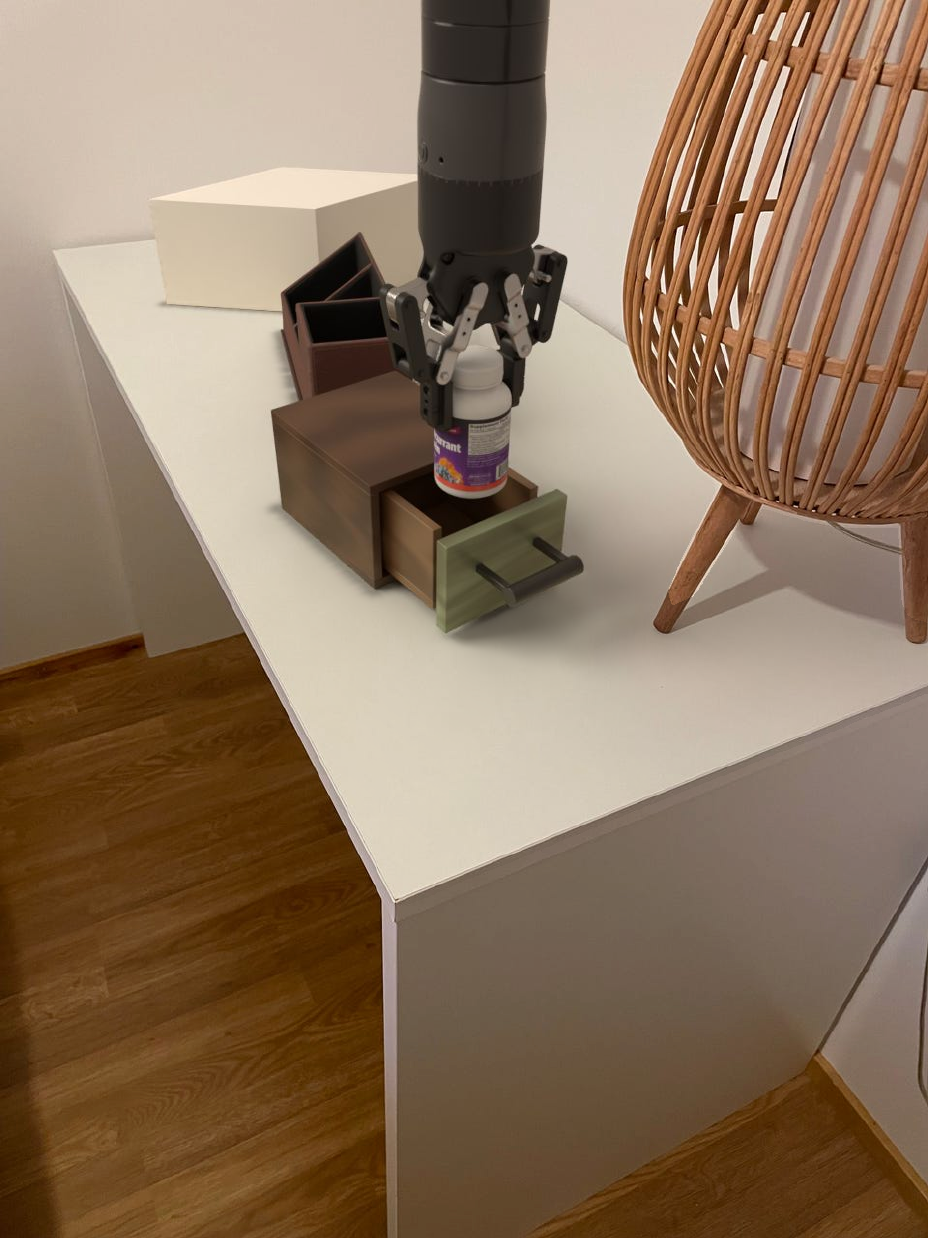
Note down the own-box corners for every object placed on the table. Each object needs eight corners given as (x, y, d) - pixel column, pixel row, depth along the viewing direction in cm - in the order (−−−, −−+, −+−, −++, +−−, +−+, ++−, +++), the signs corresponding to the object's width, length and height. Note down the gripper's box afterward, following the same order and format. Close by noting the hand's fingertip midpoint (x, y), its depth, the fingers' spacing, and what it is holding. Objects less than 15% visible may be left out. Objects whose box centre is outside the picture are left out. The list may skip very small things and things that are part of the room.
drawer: (600, 608, 75) (613, 524, 70) (486, 669, 69) (490, 582, 64) (455, 503, 86) (456, 423, 81) (346, 548, 80) (340, 466, 75)
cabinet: (496, 535, 84) (501, 436, 77) (374, 589, 77) (369, 486, 71) (398, 464, 92) (395, 369, 86) (281, 507, 86) (270, 409, 80)
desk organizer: (312, 459, 92) (302, 347, 85) (280, 333, 114) (269, 235, 107) (420, 448, 95) (420, 337, 87) (368, 326, 116) (364, 229, 109)
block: (158, 278, 126) (140, 177, 119) (414, 251, 136) (413, 156, 128) (176, 331, 114) (157, 223, 106) (457, 297, 124) (459, 195, 116)
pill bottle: (422, 470, 73) (421, 347, 67) (487, 456, 75) (492, 335, 68) (452, 507, 69) (454, 380, 63) (519, 491, 71) (528, 366, 65)
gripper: (420, 193, 52) (422, 469, 63) (612, 153, 59) (584, 407, 70) (343, 160, 56) (357, 423, 67) (530, 126, 63) (515, 369, 74)
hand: (473, 414), depth 68 cm, fingers closed on pill bottle, 5 cm apart
